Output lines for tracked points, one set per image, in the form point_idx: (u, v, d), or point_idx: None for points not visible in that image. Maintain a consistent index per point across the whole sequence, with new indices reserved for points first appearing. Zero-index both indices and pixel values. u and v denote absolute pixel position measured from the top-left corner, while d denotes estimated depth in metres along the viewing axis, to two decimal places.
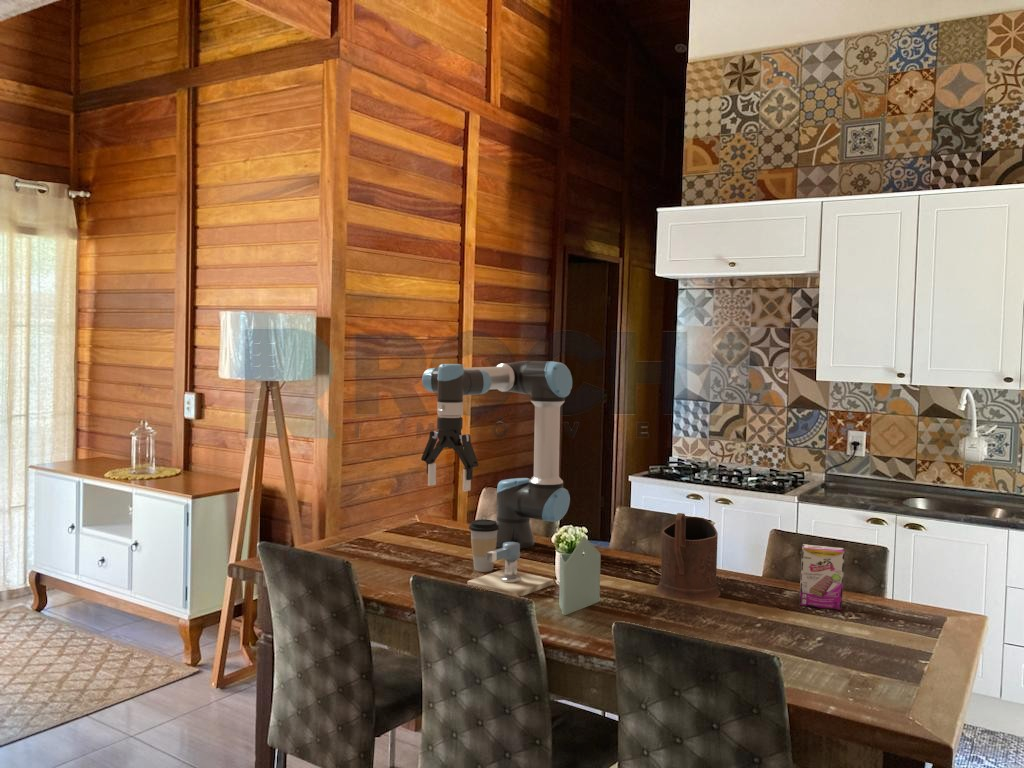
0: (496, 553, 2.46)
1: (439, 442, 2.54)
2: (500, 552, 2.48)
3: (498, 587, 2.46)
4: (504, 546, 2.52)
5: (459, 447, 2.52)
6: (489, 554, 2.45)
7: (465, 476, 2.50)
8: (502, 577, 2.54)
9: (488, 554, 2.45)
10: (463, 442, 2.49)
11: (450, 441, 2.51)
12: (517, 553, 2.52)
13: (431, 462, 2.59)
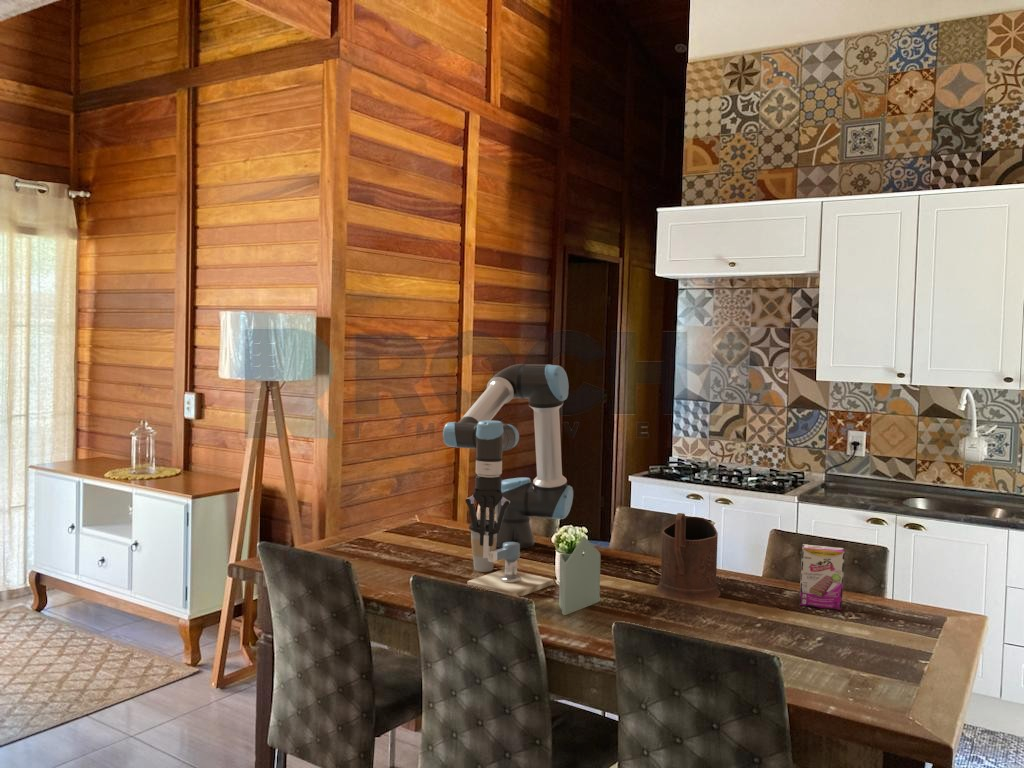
0: (497, 553, 2.46)
1: (482, 504, 2.45)
2: (501, 552, 2.48)
3: (498, 587, 2.46)
4: (504, 546, 2.52)
5: (494, 510, 2.46)
6: (490, 554, 2.45)
7: (488, 542, 2.46)
8: (502, 577, 2.54)
9: (489, 554, 2.45)
10: (503, 507, 2.44)
11: (491, 502, 2.44)
12: (517, 553, 2.52)
13: (485, 531, 2.47)
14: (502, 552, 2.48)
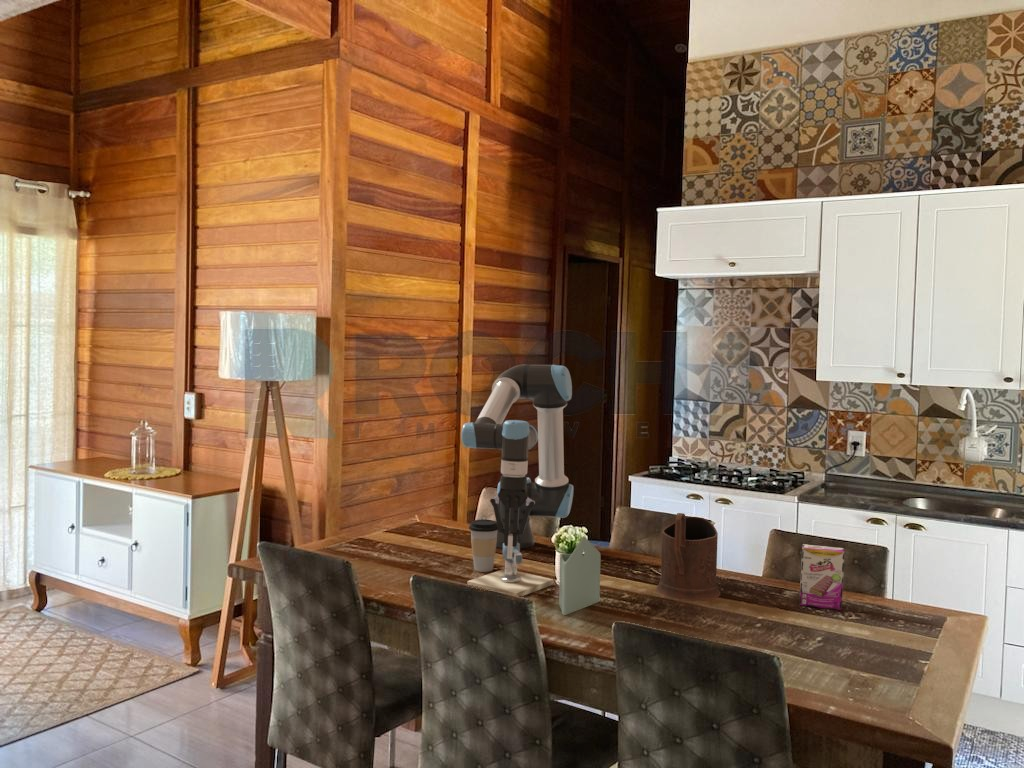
0: None
1: (507, 504, 2.43)
2: None
3: (498, 587, 2.46)
4: None
5: (518, 510, 2.45)
6: (518, 556, 2.43)
7: (512, 543, 2.44)
8: (502, 577, 2.54)
9: (517, 556, 2.43)
10: (528, 508, 2.43)
11: (516, 502, 2.43)
12: None
13: (509, 531, 2.45)
14: None
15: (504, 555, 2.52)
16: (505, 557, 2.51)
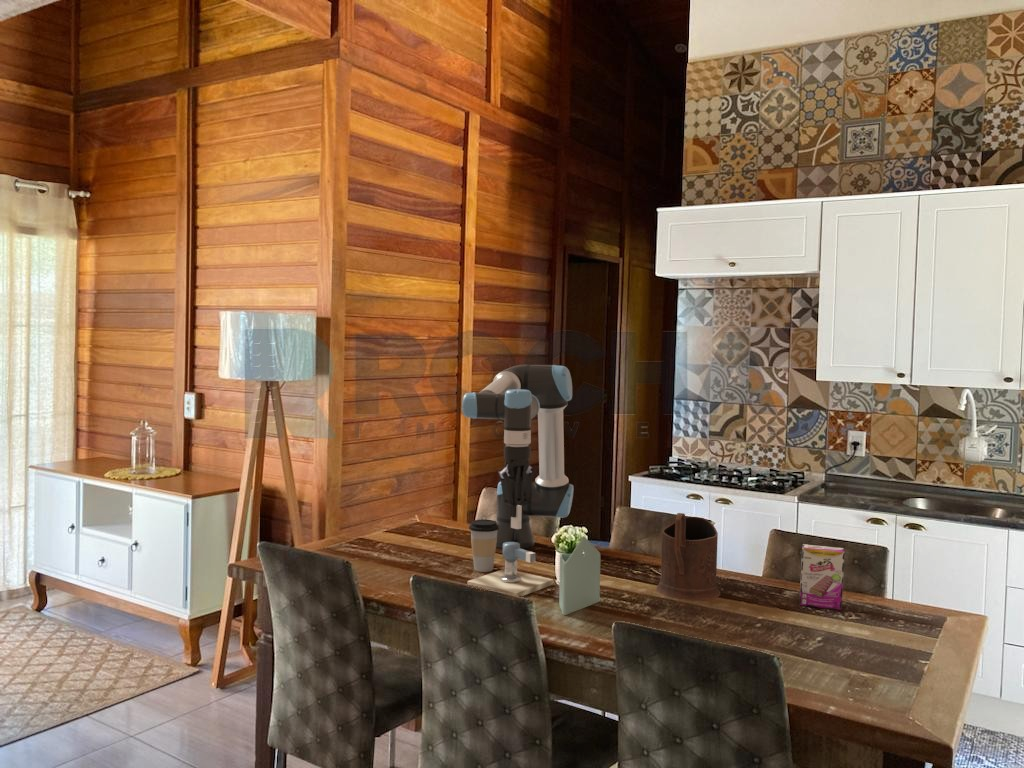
0: None
1: (517, 475, 2.40)
2: None
3: (498, 587, 2.46)
4: (514, 547, 2.51)
5: None
6: (532, 555, 2.45)
7: None
8: (502, 577, 2.54)
9: (531, 555, 2.45)
10: (531, 474, 2.45)
11: (525, 471, 2.42)
12: None
13: None
14: None
15: (507, 556, 2.51)
16: (508, 558, 2.51)
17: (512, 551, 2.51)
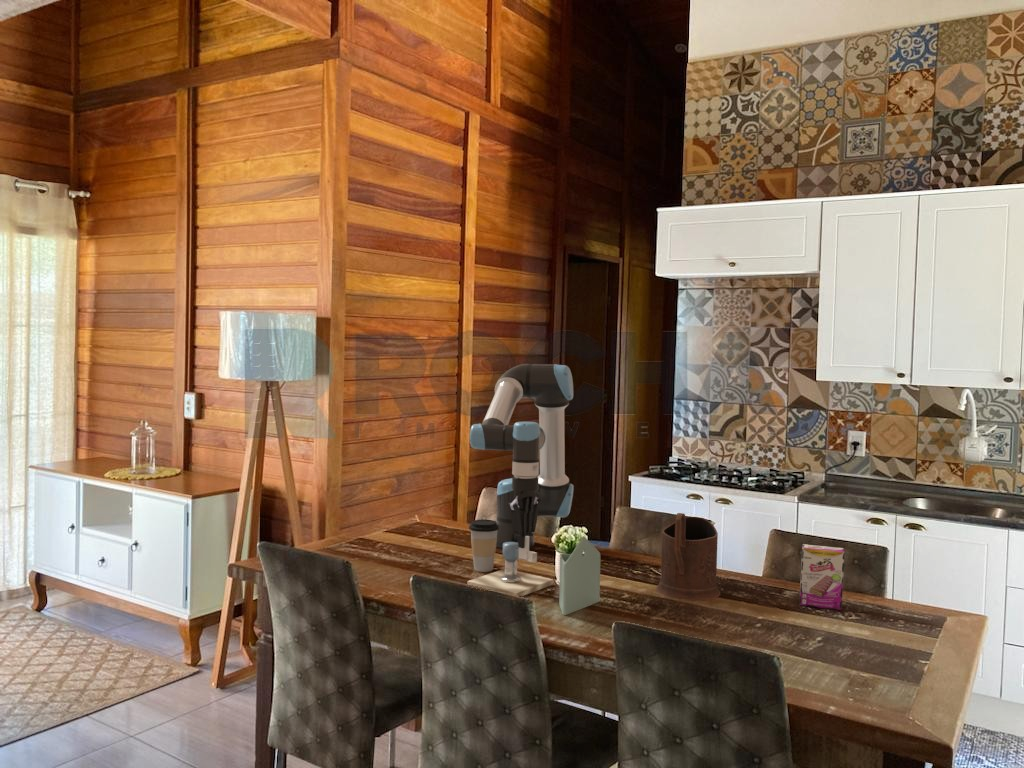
0: None
1: (526, 506, 2.44)
2: None
3: (498, 587, 2.46)
4: (515, 547, 2.51)
5: None
6: (534, 554, 2.46)
7: None
8: (502, 577, 2.54)
9: (533, 555, 2.45)
10: (537, 505, 2.49)
11: (532, 502, 2.46)
12: None
13: None
14: None
15: (507, 556, 2.51)
16: (509, 558, 2.51)
17: (513, 551, 2.51)
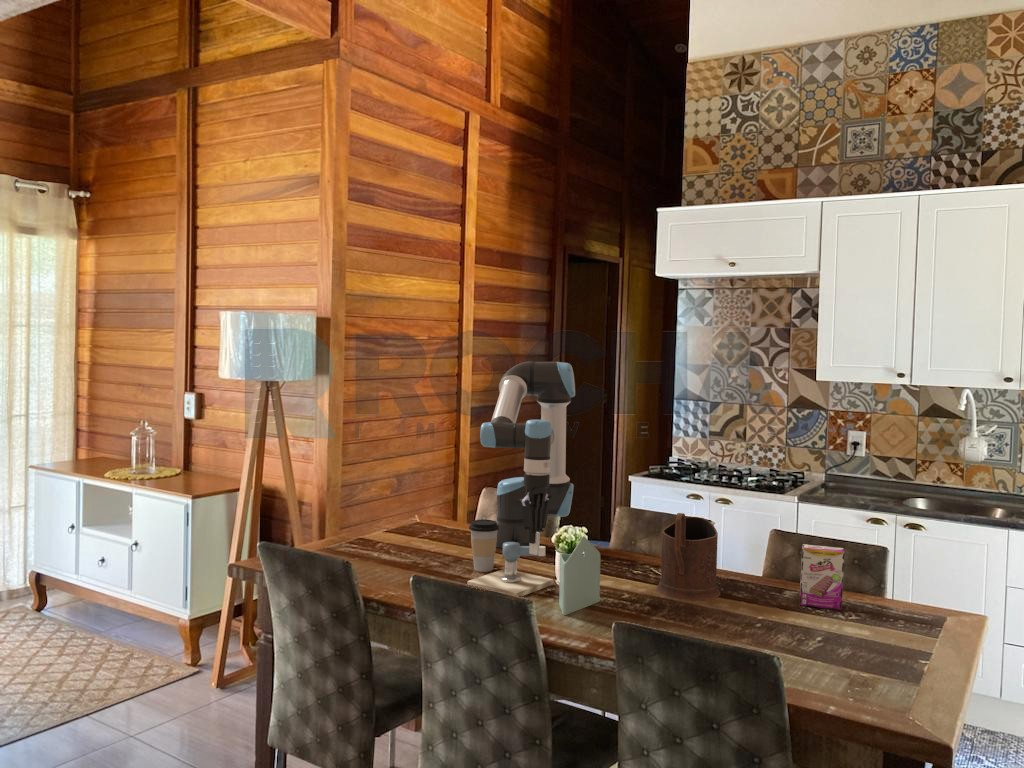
0: None
1: (538, 502, 2.48)
2: None
3: (498, 587, 2.46)
4: (519, 546, 2.52)
5: None
6: None
7: None
8: (502, 577, 2.54)
9: None
10: (548, 502, 2.53)
11: (543, 498, 2.50)
12: None
13: None
14: None
15: (514, 556, 2.51)
16: (516, 557, 2.51)
17: (518, 550, 2.52)
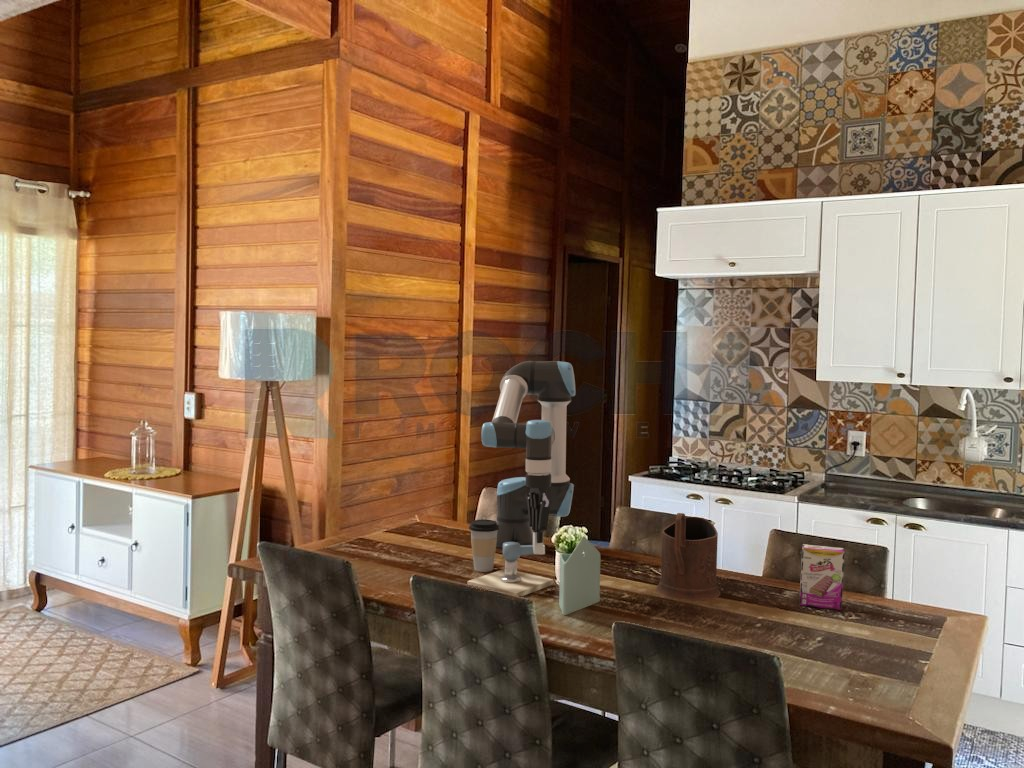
0: None
1: None
2: None
3: (498, 587, 2.46)
4: (519, 545, 2.53)
5: None
6: None
7: None
8: (502, 577, 2.54)
9: None
10: None
11: None
12: None
13: None
14: None
15: (516, 556, 2.51)
16: (517, 557, 2.52)
17: (519, 550, 2.52)
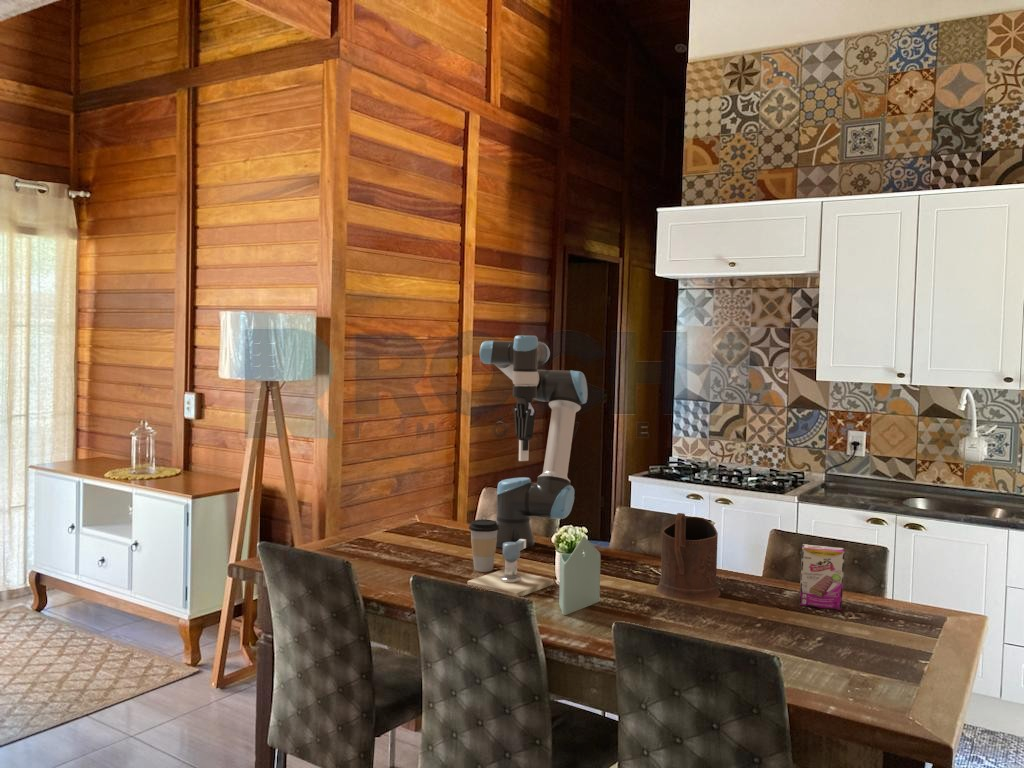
0: None
1: None
2: None
3: (498, 587, 2.46)
4: None
5: None
6: None
7: None
8: (502, 577, 2.54)
9: None
10: None
11: None
12: None
13: None
14: None
15: None
16: None
17: None
